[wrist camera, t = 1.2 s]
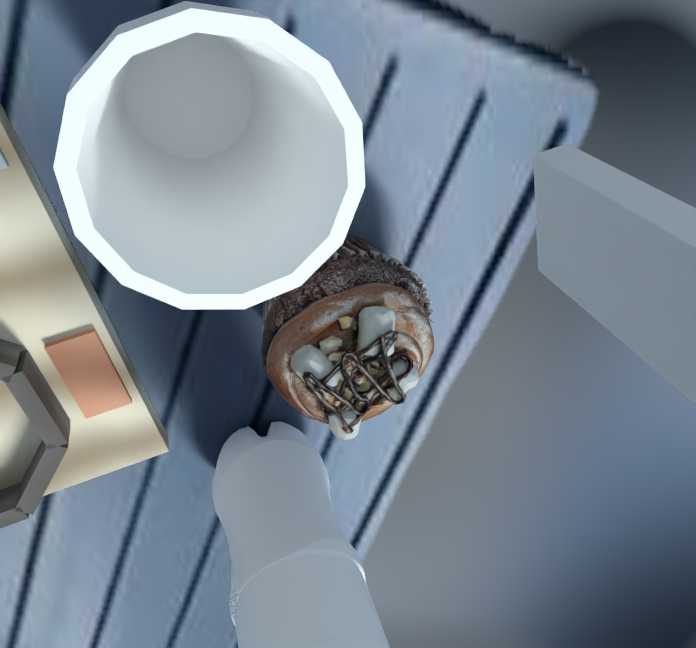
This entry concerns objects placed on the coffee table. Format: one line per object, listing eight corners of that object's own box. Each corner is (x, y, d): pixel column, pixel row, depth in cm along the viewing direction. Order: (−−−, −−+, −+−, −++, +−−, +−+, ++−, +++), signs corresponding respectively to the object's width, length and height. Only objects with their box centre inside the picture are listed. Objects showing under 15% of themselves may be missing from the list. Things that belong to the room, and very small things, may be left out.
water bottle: (219, 405, 40) (317, 898, 20) (326, 412, 43) (509, 851, 22) (197, 491, 43) (261, 997, 23) (298, 493, 46) (438, 945, 25)
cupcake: (315, 387, 42) (361, 499, 33) (211, 294, 36) (236, 399, 28) (431, 293, 40) (508, 385, 32) (342, 182, 35) (407, 258, 27)
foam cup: (197, 224, 34) (229, 357, 23) (37, 97, 29) (-16, 192, 18) (323, 90, 32) (420, 165, 22) (177, -70, 27) (209, -74, 17)
